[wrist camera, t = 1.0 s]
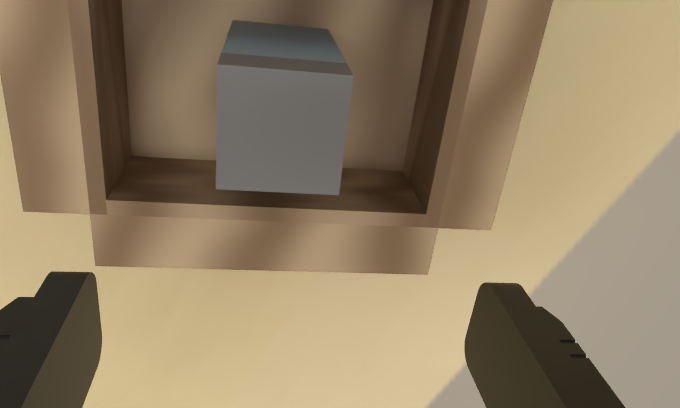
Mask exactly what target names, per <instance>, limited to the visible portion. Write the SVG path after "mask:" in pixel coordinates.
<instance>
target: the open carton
mask: <svg viewBox="0 0 680 408" xmlns="http://www.w3.org/2000/svg"><path fill="white" fill-rule="evenodd" d="M552 2H553V0H0V75H1V81H2V87H3V93H4V99H5V105H6V111H7V117H8V123H9V128H10V134H11V140H12V146H13V152H14V158H15V164H16V170H17V176H18V182H19V188H20V194H21V200H22V206H23V211H24V212H49V213H74V214H90V219H91V228H92V238H93V247H94V257H95V266H117V267H155V268H193V269H231V270H270V271H308V272H346V273H385V274H423V275H428V271H429V267H430V262H431V258H432V253H433V249H434V244H435V240H436V235H437V230H438V228H450V229H475V230H491V228H492V225H493V221H494V217H495V213H496V210H497V206H498V202H499V199H500V195H501V191H502V187H503V184H504V180H505V176H506V173H507V169H508V165H509V161H510V158H511V154H512V150H513V147H514V143H515V139H516V135H517V132H518V128H519V124H520V121H521V117H522V113H523V109H524V106H525V102H526V98H527V95H528V91H529V87H530V83H531V80H532V76H533V72H534V69H535V65H536V61H537V57H538V54H539V50H540V46H541V43H542V39H543V35H544V31H545V28H546V24H547V20H548V17H549V13H550V9H551V5H552ZM232 20H239V21H250V22H260V23H271V24H281V25H291V26H302V27H312V28H323V29H328V30H329V32H330V34H331V36H332V38H333V39H334V41H335V43H336V45H337V47H338V48H339V50H340V52H341V54H342V56H343V57H344V59H345V61H346V63H347V65H348V66H349V68H350V70H351V72H352V74H353V75H354V77H353V85H352V93H351V101H350V109H349V118H348V126H347V134H346V142H345V150H344V158H343V167H342V175H341V183H340V191H339V195H324V194H303V193H283V192H262V191H241V190H220V189H216V128H217V63H218V60H219V58H220V55H221V52H222V49H223V46H224V43H225V40H226V38H227V35H228V32H229V29H230V26H231V23H232Z"/></svg>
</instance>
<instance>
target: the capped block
mask: <svg viewBox="0 0 680 408" xmlns="http://www.w3.org/2000/svg"><path fill="white" fill-rule="evenodd" d="M353 77H354V75H353V74H352V72H351V70H350V68H349V66H348V65H347V63H346V61H345V59H344V57H343V56H342V54H341V52H340V50H339V48H338V47H337V45H336V43H335V41H334V39H333V38H332V36H331V34H330V32H329V30H328V29H323V28H312V27H302V26H291V25H281V24H271V23H260V22H250V21H239V20H232V23H231V26H230V29H229V32H228V35H227V38H226V40H225V43H224V46H223V49H222V52H221V55H220V58H219V60H218V63H217V128H216V189H220V190H241V191H262V192H283V193H303V194H324V195H339V191H340V183H341V175H342V167H343V158H344V150H345V142H346V134H347V126H348V118H349V109H350V101H351V93H352V85H353Z"/></svg>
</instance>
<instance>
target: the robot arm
mask: <svg viewBox="0 0 680 408" xmlns="http://www.w3.org/2000/svg"><path fill="white" fill-rule="evenodd" d="M101 347H102V331H101V322H100V312H99V303H98V293H97V284H96V278H95V275H94V274H93V273H92V272H50V273H49V274H48V275H47V277H46V279H45V280H44V282H43V283H42V285H41V287H40V288H39V290H38V292H37V293H36V295H35V296H34V297H18V298H16V299H15V300H14V301H12V302H11V303H9V304H8V305H7V306H5V307H4V308H2V309H1V310H0V408H82V407H83V404H84V401H85V399H86V396H87V393H88V391H89V388H90V385H91V383H92V380H93V377H94V375H95V372H96V369H97V367H98V364H99V360H100V354H101ZM465 358H466V362H467V366H468V368H469V370H470V373H471V375H472V377H473V379H474V381H475V383H476V386H477V388H478V390H479V392H480V394H481V397H482V399H483V401H484V403H485V406H486V408H625V407H624V405H623V404H622V403H621V401H620V400H619V399H618V397H617V396H616V394H615V393H614V392H613V390H612V389H611V388H610V386H609V385H608V384H607V382H606V381H605V380H604V378H603V377H602V376H601V374H600V373H599V372H598V370H597V369H596V367H595V366H594V365H593V363H592V362H591V361H590V359H589V358H586V354H585V353H584V351H583V350H582V349H581V347H580V346H579V344H578V343H575V339H574V338H573V336H572V335H571V334H570V332H569V331H568V330H567V328H566V327H565V326H564V324H563V323H562V322H561V321H560V320H559V319H557V318H556V317H555V316H553V315H552V314H551V313H549V312H548V311H547V310H545V309H544V308H543V307H536V306H535V305H534V304H533V302H532V301H531V299H530V298H529V296H528V295H527V293H526V292H525V291H524V289H523V288H522V287H521V285H519V284H517V283H483V284H482V285H481V286H480V288H479V290H478V294H477V297H476V301H475V305H474V308H473V312H472V316H471V319H470V323H469V327H468V330H467V334H466V338H465Z"/></svg>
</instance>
